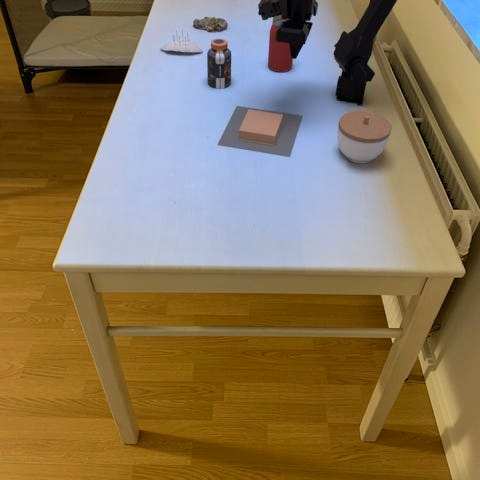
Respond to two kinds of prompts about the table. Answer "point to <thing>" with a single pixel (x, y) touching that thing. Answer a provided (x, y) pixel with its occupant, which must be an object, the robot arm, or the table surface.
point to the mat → (280, 148)
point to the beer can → (278, 51)
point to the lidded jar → (363, 135)
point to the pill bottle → (219, 64)
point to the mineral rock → (210, 24)
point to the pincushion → (181, 45)
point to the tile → (260, 127)
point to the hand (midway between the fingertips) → (293, 58)
